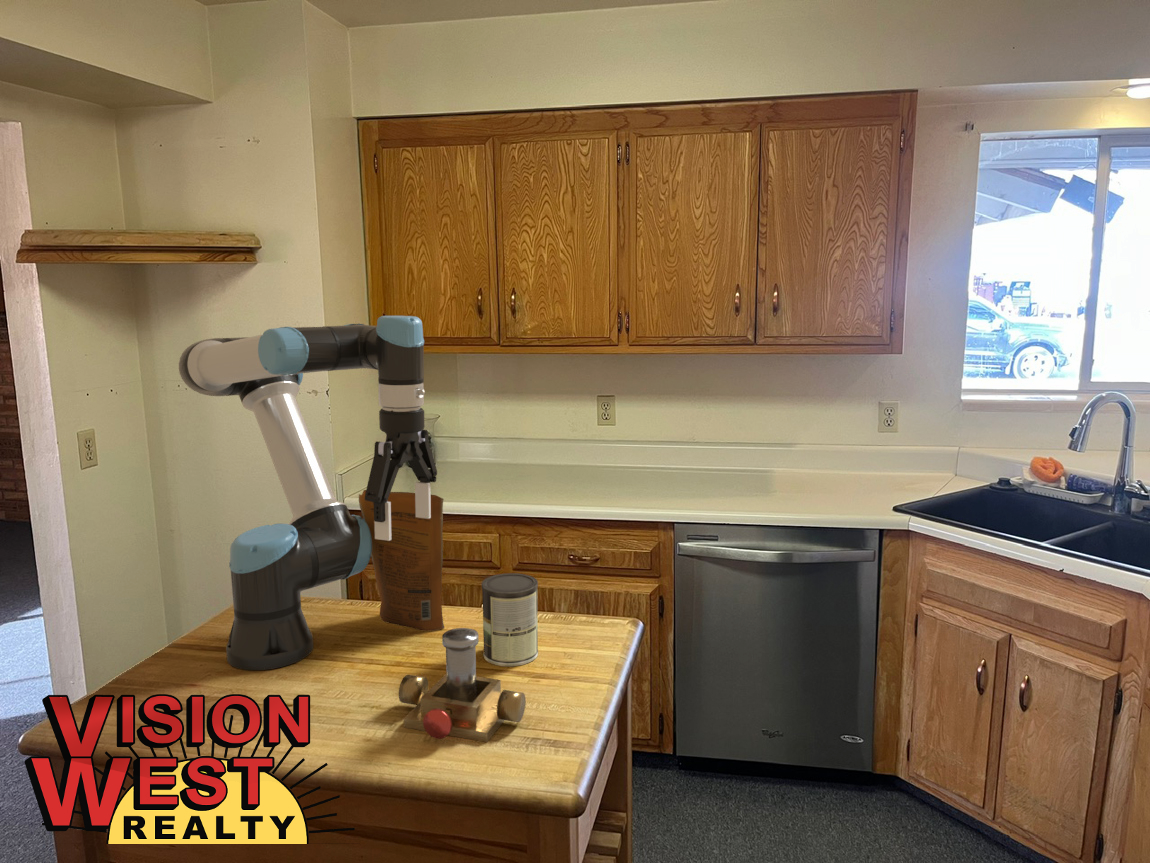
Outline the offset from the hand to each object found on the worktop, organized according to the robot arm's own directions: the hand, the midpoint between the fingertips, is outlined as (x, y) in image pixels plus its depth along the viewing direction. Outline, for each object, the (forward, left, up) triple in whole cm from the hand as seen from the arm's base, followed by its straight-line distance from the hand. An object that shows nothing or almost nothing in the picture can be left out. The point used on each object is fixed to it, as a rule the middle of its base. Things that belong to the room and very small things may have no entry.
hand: (404, 528), depth 142 cm
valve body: (+16, -14, -26) cm, 34 cm away
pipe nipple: (+16, -13, -24) cm, 32 cm away
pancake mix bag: (-10, +17, -26) cm, 33 cm away
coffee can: (+15, +10, -26) cm, 32 cm away
